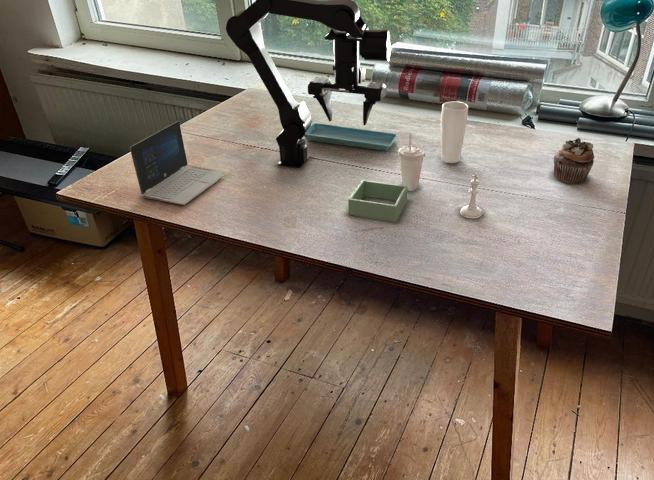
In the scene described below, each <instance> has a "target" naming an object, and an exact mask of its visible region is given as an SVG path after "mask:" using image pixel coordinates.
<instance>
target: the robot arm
mask: <svg viewBox="0 0 654 480" xmlns="http://www.w3.org/2000/svg"><path fill="white" fill-rule="evenodd" d="M360 13H361V12H360V9H359V6H358V4H357V2H355V0H254V2H252V3H251V4H250V5H249V6H248V7H247V8H245V9H244V10H241V11H239V12H237V13H235V14H234V15H232V16H231V17H230V18H228V19H227V21H226V25H225V32H226V34H227V36H228V37H229V38H230V40H231V41H232V42H233V44H234V45H235V46H236V47H237V48H238V49H239V50H240V51H241V52H243V53H244V54H245V55H246V56H247V57H248V59H249V60H250V62H251V65H252V66H253V68H254V69H255V71H256V72H257V74H258V76H259V78H260V80H261V82H262V83H263V85H264V87H265V88H266V90H267V92H268V94H269V95H270V97H271V98H272V101H273V102H274V104H275V106H276V108H277V110H278V116H279V123H280V125H281V127H282V129H281V131H280V132H279V134H278V135H277V136H276V137H275V141H276V143H277V146H278V151H279V161H278V162H277V165H278V166H283V167H289V168H295V169H300V168H302V167H303V166H304V165H305V163H307V161H308V160H309V159H310V157H309V156H308V155H309V154H308V146H307V144H306V138H305V137H304V135H305V134H306V132H307V131H308V129H309V128H310V126H311V125H312V124H313V120H312V115H313V114H312V112H310V110H309V109H308V107H307V104H306V102H305V101H304V100H302V101H301V102H298V100H296V99H295V98H294V97H293V95H292V93H291V91H290V89H289V88H288V86H287V84H286V82H285V81H284V79H283V77H282V75H281V73H280V71H279V70H278V68H277V66H276V65H275V63H274V61H273V59H272V57H271V55H270V53H269V52H268V50H267V48H266V46H265V44H264V43H265V42H264V36H263V31H262V28H261V26H260V23H261V22H262V21H263V20H264V19H265V18H266V17H267V16H268V15H269V14H272V15H277V16H284V17H290V18H295V19H302V20H308V21H314V22H317V23H320V24H322V25H324V26H325V27H327V28H330V30H329V32H328V33H327V34H326V35H325V36H324V40H326V41H333V62H334V64H333V65H332V71H334V82H331V78H330V77H321V76H316V77H314V78H312V80H311V81H309V82H308V84H307V94H308V95H312V98H313V99H316V100H317V102H318V103H319V105H320V107H321V108H322V110H323V112H324V114H325V116H326V118H327V120H328V122H332V121H333V108H332V107H333V106H332V93H333V92H337V93H345V94H353V95H355V94H356V95H363V97H364V98H365V99H364V100H363V102H362V123H363V126H366V125H367V123H368V120H369V118H370V115H371V112H372V108H373V107H374V105H376V104H377V103H378V102H381V101H382V100H383V99H384V98H385V97H386V96H387V90H388V89H387V85H386V84H385V83H383V82H373V81H371V82H369V84H367V85H366V86H365V85H359V84H362V83H365V82H366V71H367V68H364V67H361V61H360V60H359V56H360V57H361V59H363V60H364V61H369V62H390V59H391V58H390V57H391V49H392V47H391V45H392V43H391V38H390V30H389V29H384V28H383V29H369V26H368V25H367V23H366V22H365V21H364V19H363V17H362V16H361V15H360Z"/></svg>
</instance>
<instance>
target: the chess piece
mask: <svg viewBox="0 0 654 480" xmlns="http://www.w3.org/2000/svg"><path fill="white" fill-rule="evenodd" d="M471 178H472V179H471V180H470V181H469V182H470V183H469V184H470V187H471V188H470V189H468V193H469V194H470V197H469V201H468V204H467V205H464V206H462V207H461V208H460V210H459V211H460V212H459V214H460V215H461V216H462V217H464V218H467V219H478V218H480V217H482V215H483V210H482V209H481V207H479V206H477V202H476V201H477V200H476V197H477V194H479V189H478V187H479V185H480V180H479V179H480V175H479V176H478V172H474V174H472V175H471Z"/></svg>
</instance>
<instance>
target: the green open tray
mask: <svg viewBox="0 0 654 480" xmlns="http://www.w3.org/2000/svg"><path fill="white" fill-rule="evenodd" d="M364 197H368V198H375V199H382V200H387V201H395V203H394V204H390V203H384V202H378V201H370V200H363V198H364ZM347 202H348V215H349V216H356V217H361V218H367V219H374V220H380V221H387V222H392V223H397V221H398V220H399V218H400V215H401V213H402V211H403V210H404V208H405V206H406V204H407V203H408V186H403V184H394V183H390V182H389V183H388V182H381V181H375V180H367V179H362V180H361V181H360V183H359V184H358V185H357V186H356V188H355V189H354V191H353V192H352V194H351V195H350V196H349V197H348V200H347Z"/></svg>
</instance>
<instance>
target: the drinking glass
mask: <svg viewBox="0 0 654 480" xmlns="http://www.w3.org/2000/svg"><path fill="white" fill-rule="evenodd" d="M468 117H469V105H468V104H467V103H466V102H463V101H457V100H455V101H454V100H453V101H452V100H451V101H446V102H444V103H443V104H442V105H441V112H440V160H441V161H442V162H443V163H446V164H456V163H459V162H460V160H461V157H462V150H463V145H464V139H465V136H466V129H467V124H468Z"/></svg>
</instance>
